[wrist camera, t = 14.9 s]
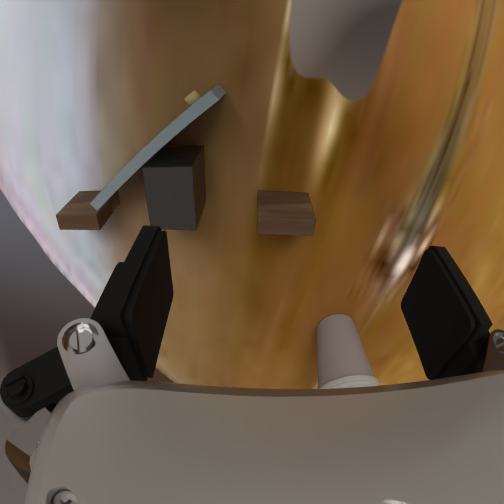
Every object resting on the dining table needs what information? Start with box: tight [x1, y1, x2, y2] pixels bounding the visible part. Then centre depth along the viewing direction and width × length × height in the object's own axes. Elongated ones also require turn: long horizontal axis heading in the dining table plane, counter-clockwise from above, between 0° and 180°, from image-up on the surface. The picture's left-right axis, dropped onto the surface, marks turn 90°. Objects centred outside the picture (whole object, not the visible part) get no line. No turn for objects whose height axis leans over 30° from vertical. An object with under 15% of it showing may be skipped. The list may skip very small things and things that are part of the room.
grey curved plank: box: [90, 84, 226, 211], centre depth 30 cm, size 2×18×6 cm, turn 127°
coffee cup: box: [317, 314, 380, 389], centre depth 45 cm, size 10×10×15 cm
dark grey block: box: [142, 146, 206, 230], centre depth 33 cm, size 7×5×7 cm
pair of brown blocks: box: [56, 191, 316, 236], centre depth 35 cm, size 2×30×6 cm, turn 89°
